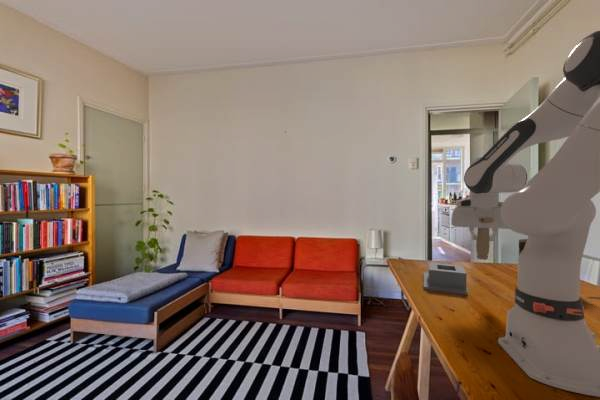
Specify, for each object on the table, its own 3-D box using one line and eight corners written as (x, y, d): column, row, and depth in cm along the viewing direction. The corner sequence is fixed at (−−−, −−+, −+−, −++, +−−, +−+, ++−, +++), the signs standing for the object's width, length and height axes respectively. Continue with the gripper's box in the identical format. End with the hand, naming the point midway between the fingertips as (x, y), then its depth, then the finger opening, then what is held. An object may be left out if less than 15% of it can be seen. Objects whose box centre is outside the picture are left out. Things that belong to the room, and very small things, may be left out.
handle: (491, 261, 97) (493, 218, 97) (470, 258, 102) (472, 217, 101) (494, 259, 101) (495, 217, 100) (473, 256, 105) (475, 216, 105)
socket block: (467, 295, 105) (467, 275, 104) (423, 289, 111) (423, 271, 110) (460, 278, 125) (460, 262, 125) (423, 274, 131) (423, 259, 131)
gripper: (516, 202, 99) (515, 241, 100) (451, 201, 108) (450, 237, 108) (522, 202, 93) (521, 243, 94) (452, 201, 102) (452, 239, 102)
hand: (482, 240), depth 101 cm, fingers closed on handle, 4 cm apart
